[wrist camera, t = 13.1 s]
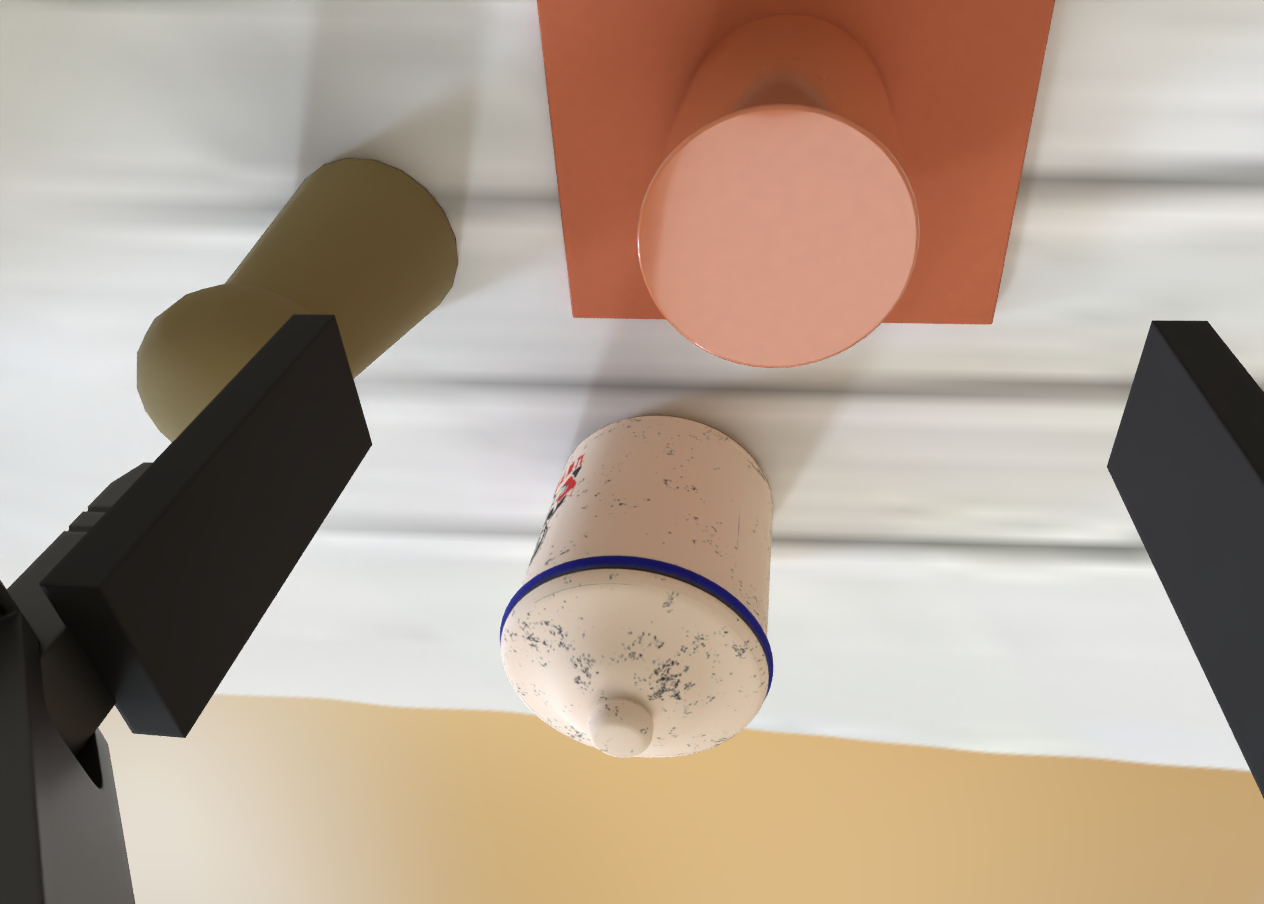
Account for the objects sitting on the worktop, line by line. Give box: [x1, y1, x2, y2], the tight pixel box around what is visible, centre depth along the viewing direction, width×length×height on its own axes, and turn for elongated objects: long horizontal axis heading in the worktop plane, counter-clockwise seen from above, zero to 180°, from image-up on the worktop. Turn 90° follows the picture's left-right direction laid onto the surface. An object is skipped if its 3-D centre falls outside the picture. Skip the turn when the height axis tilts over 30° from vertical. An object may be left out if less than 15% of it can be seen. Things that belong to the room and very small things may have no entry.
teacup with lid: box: [500, 416, 773, 758], centre depth 32 cm, size 12×9×12 cm
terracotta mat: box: [537, 0, 1055, 324], centre depth 27 cm, size 14×11×1 cm
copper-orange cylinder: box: [637, 14, 920, 368], centre depth 23 cm, size 6×6×9 cm
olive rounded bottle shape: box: [137, 158, 458, 442], centre depth 27 cm, size 6×6×11 cm
